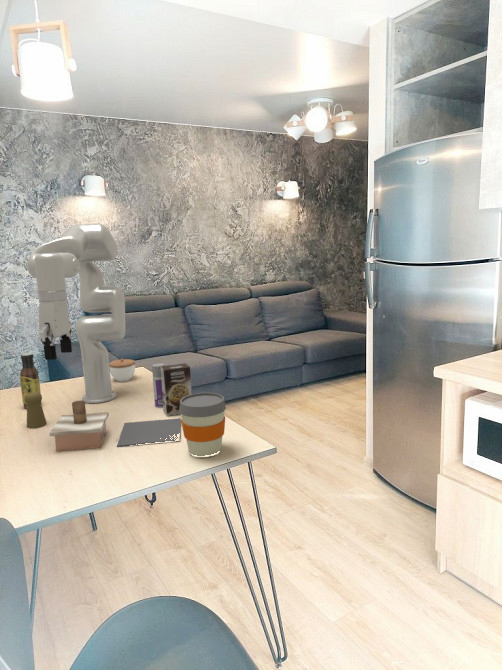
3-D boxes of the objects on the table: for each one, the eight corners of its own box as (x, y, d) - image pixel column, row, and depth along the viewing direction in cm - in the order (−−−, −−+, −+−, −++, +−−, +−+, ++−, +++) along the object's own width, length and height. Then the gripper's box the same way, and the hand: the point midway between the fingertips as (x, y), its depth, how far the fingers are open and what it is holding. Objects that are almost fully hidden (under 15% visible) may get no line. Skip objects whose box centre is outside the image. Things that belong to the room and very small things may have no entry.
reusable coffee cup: (228, 440, 142) (225, 391, 139) (227, 460, 130) (224, 406, 127) (185, 442, 142) (181, 393, 139) (179, 462, 129) (176, 408, 126)
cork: (39, 428, 157) (35, 396, 155) (22, 428, 158) (18, 395, 156) (50, 422, 163) (46, 390, 160) (34, 421, 164) (30, 389, 162)
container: (170, 403, 176) (167, 363, 173) (164, 408, 172) (161, 366, 169) (159, 402, 178) (156, 362, 175) (152, 407, 173) (149, 366, 170)
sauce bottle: (19, 408, 178) (12, 354, 174) (34, 402, 183) (27, 351, 179) (31, 410, 175) (24, 356, 171) (46, 405, 180) (39, 352, 176)
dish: (66, 434, 151) (64, 419, 150) (106, 431, 152) (104, 416, 151) (56, 451, 139) (54, 434, 138) (99, 447, 141) (98, 430, 140)
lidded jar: (140, 376, 214) (138, 355, 212) (129, 383, 203) (127, 361, 201) (118, 375, 216) (116, 355, 214) (105, 382, 206) (103, 361, 204)
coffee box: (166, 416, 163) (163, 370, 160) (163, 410, 169) (159, 365, 166) (193, 412, 166) (190, 366, 163) (188, 406, 172) (185, 362, 169)
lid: (62, 418, 151) (59, 396, 150) (108, 414, 153) (106, 393, 151) (49, 436, 137) (46, 412, 136) (101, 431, 139) (98, 408, 138)
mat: (124, 424, 158) (124, 422, 158) (180, 419, 160) (180, 418, 160) (117, 447, 140) (116, 445, 140) (180, 441, 143) (180, 440, 142)
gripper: (54, 295, 149) (60, 350, 151) (24, 300, 132) (31, 362, 134) (78, 294, 148) (83, 349, 151) (50, 299, 131) (57, 362, 134)
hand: (59, 355), depth 143 cm, fingers open, 9 cm apart
